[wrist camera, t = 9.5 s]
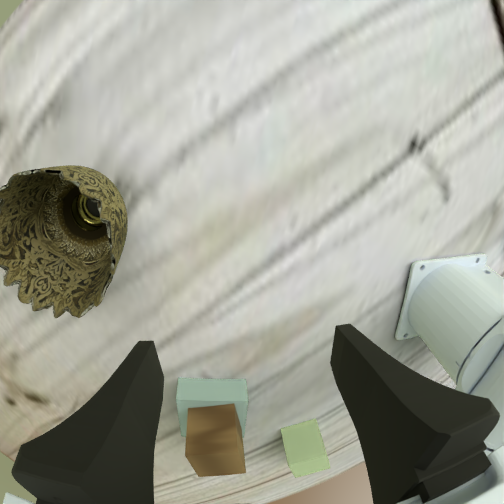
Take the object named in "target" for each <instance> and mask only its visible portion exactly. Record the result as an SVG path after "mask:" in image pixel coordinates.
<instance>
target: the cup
mask: <svg viewBox="0 0 504 504" xmlns="http://www.w3.org/2000/svg"><path fill="white" fill-rule="evenodd" d="M88 198H89V199H90V200H91V201H93V202H96V203H97V204H98V211H99V213H100V216H94V215H92V214H91V213H90V212H89V210H88V208H87V199H88ZM1 199H2V200H1ZM0 201H1V202H0V267H1V268H3V269H4V270H5V273H6V274H5V276H4V280H3V281H4V285H5V286H6V287H7V286H13V285H14V283H15V284H19V283H18V282H20V285H19V287H18V298H19V300H20V301H21V302H22V303H26V304H29V303H31V302H32V304H31V305H32V309H33V311H39V310H42V309H44V308H45V309H48V308H50V307H51V306H53V313H54V317H55V318H58V317H60V316H61V315H62V314H63V313H64V312H66V311H67V312H69V313H70V314H71V315H72V316H76V317H78V318H80V317H82V316H83V315H85V314H86V313H87V312H88V311H89V310H90V309H92V307H93V306H94V305H95V306H96V307H97V306H98V305H99V304H100V303H101V302H102V300H103V298H104V295H105V292H106V290H107V288H108V286H109V284H110V283H111V281H112V278H113V275H114V273H115V270H116V267H117V264H118V262H119V259H120V256H121V253H122V251H123V247H124V244H125V240H126V235H127V212H126V207H125V204H124V201H123V198H122V196H121V194H120V192H119V191H118V189H117V188H116V186H115V185H114V184H113V183H112V182H111V181H110V180H109V179H108V178H107V177H106V176H104V175H103V174H101V173H100V172H98V171H96V170H94V169H90V168H87V167H83V166H71V165H70V166H58V167H49V168H42V169H35V170H29V171H24V172H20V173H17V174H14V175H13V176H12V177H11V178H10V179H9V181H8V183H7V185H4V186H2V187H1V188H0Z"/></svg>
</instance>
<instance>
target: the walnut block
mask: <svg viewBox="0 0 504 504" xmlns="http://www.w3.org/2000/svg"><path fill="white" fill-rule="evenodd" d="M185 456H186V458H187V459H188V461H189V463H190V464H191V466H192V467H193V469H194V470H195V472H196V473H197V475H198V476H199V477H203V476H220V475H232V474H242V473H246V469H245V459H244V449H243V438H242V428H241V425H240V421H239V418H238V415H237V411H236V408H235V404H234V403H233V404H225V405H216V406H206V407H195V408H188V415H187V431H186V449H185Z"/></svg>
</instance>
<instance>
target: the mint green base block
mask: <svg viewBox="0 0 504 504" xmlns="http://www.w3.org/2000/svg"><path fill="white" fill-rule="evenodd" d="M176 402H177V410H178V417H179V423H180V430H181V436H183V437H186V431H187V415H188V408H195V407H206V406H216V405H225V404H233V403H234V404H235V408H236V411H237V415H238V418H239V421H240V425H241V428H242V438H244V433H245V425H246V416H247V408H248V393H247V385H246V379H198V378H178V386H177V395H176Z"/></svg>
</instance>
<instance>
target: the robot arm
mask: <svg viewBox="0 0 504 504" xmlns="http://www.w3.org/2000/svg"><path fill="white" fill-rule="evenodd" d="M486 261H487V255H486V254H484V253H482V254H474V255H465V256H457V257H448V258H440V259H431V260H422V261H415V262H414V263H413V264H412V266H411V269H410V275H409V279H408V284H407V289H406V294H405V298H404V302H403V307H402V311H401V315H400V319H399V323H398V327H397V330H396V334H395V338H396V339H397V340H398V341H399V340H404V339H409V338H413V337H417V336H420V337H421V339H422V340H423V341H424V343H425V344H426V345H427V346H428V348H429V349H430V350H431V352H432V353H433V354H434V356H435V357H436V358H437V360H438V361H439V362H440V364H441V365H442V366H443V368H444V369H445V370H446V372H447V373H448V374H449V376H450V377H451V378H452V380H453V381H454V383H455V384H456V385H457V386H456V388H455V390H454V389H451V388H449V387H446V386H444V385H441V384H439V383H437V382H434V381H432V380H430V379H428V378H426V377H424V376H422V375H420V374H418V373H417V372H415V371H413V370H411V369H410V368H408V367H406V366H405V365H403V364H402V363H400V362H399V361H397V360H396V359H394V358H393V357H391V356H390V355H389V354H387V353H386V352H385V351H383V350H382V349H381V348H379V347H378V346H377V345H376V344H374V343H373V342H372V341H371V340H369V339H368V338H367V337H366V336H364V335H363V334H362V333H361V332H360V331H358V330H357V329H356V328H355V327H353V326H352V325H351V324H345V325H338V326H336V328H335V335H334V342H333V348H332V355H331V361H330V364H331V367H332V371H333V374H334V378H335V381H336V384H337V386H338V389H339V391H340V393H341V396H342V398H343V400H344V403H345V405H346V407H347V409H348V412H349V414H350V416H351V418H352V421H353V423H354V425H355V428H356V431H357V434H358V437H359V440H360V444H361V447H362V451H363V455H364V459H365V463H366V467H367V471H368V476H369V480H370V485H371V491H372V497H373V503H374V504H504V278H503V277H501V276H500V275H499V274H497V273H496V272H495V271H493V270H492V269H491V268H489V267H488V266H487V265H486ZM422 265H423V266H422ZM421 266H422V267H421ZM420 267H421V268H420ZM404 334H405V335H404ZM163 387H164V375H163V372H162V369H161V365H160V362H159V359H158V355H157V352H156V348H155V345H154V341H139V342H138V343H137V344H136V345H135V346H134V348H133V349H132V350H131V352H130V353H129V354H128V356H127V357H126V358H125V360H124V361H123V362H122V363H121V365H120V366H119V367H118V368H117V370H116V371H115V372H114V373H113V375H112V376H111V377H110V378H109V380H108V381H107V382H106V383H105V384H104V385H103V386H102V387H101V389H100V390H99V391H98V392H97V393H96V394H95V395H94V396H93V397H92V398H91V399H90V400H89V401H88V402H87V403H86V404H85V405H83V406H82V407H81V408H80V409H79V410H78V411H76V412H75V413H74V414H72V415H71V416H70V417H69V418H67V419H66V420H65V421H63V422H62V423H60V424H59V425H57V426H56V427H54V428H53V429H51V430H50V431H48V432H46V433H45V434H43V435H41V436H39V437H37V438H35V439H33V440H31V441H29V442H27V443H25V444H23V445H21V447H20V449H19V452H18V455H17V457H16V460H15V463H14V466H13V468H12V475H13V477H14V478H15V480H16V481H17V482H18V483H19V484H20V485H22V486H23V487H24V488H25V489H26V490H27V491H29V492H30V493H31V494H32V495H34V496H35V497H36V498H37V501H36V504H154V487H153V468H154V448H155V440H156V435H157V429H158V423H159V418H160V412H161V406H162V400H163ZM3 504H34V503H32V502H30V501H28V500H26V499H23V498H21V497H18V496H15V495H13V494H11V493H6V494H5V498H4V501H3Z"/></svg>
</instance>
